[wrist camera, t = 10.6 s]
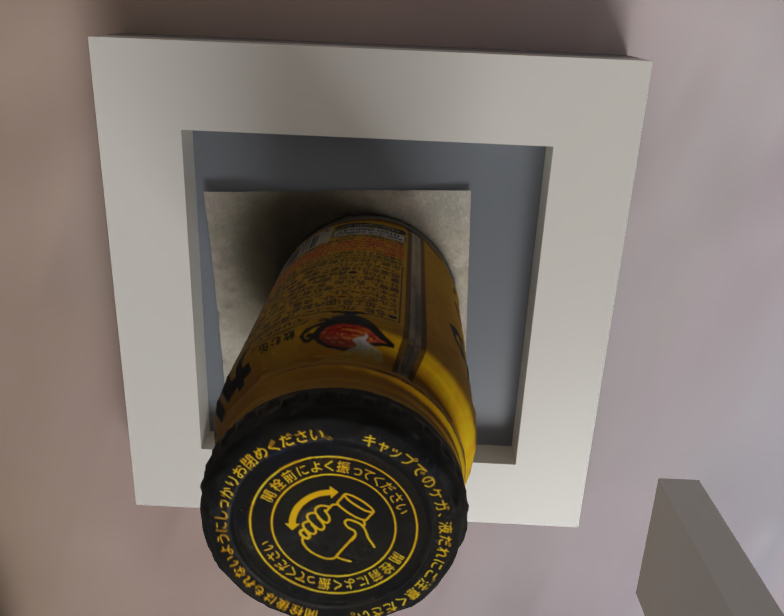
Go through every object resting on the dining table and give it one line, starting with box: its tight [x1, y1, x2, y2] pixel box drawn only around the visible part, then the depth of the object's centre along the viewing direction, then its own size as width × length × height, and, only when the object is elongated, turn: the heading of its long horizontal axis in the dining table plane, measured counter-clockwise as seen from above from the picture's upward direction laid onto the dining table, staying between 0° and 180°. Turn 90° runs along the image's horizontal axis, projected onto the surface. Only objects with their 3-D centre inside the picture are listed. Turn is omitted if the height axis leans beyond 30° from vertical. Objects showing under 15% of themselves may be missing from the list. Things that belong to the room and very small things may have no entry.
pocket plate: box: [88, 33, 653, 527], centre depth 25 cm, size 16×16×3 cm
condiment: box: [200, 190, 477, 616], centre depth 20 cm, size 7×8×12 cm
